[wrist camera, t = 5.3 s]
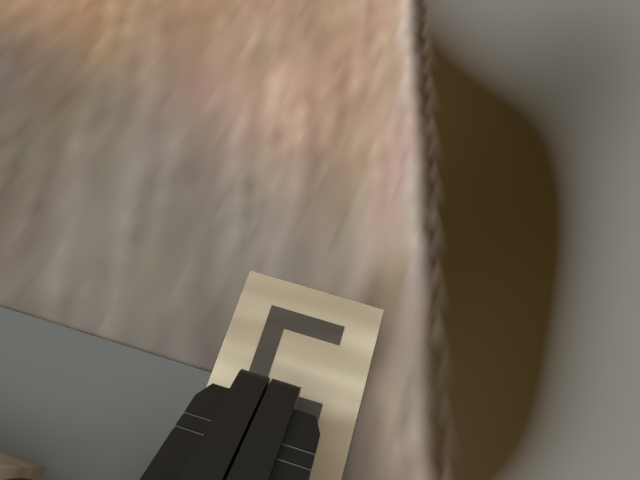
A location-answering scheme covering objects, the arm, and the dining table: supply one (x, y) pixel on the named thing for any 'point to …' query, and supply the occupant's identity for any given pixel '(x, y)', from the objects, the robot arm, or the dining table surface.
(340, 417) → the tile
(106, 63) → the dining table surface
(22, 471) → the tile
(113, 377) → the mat
